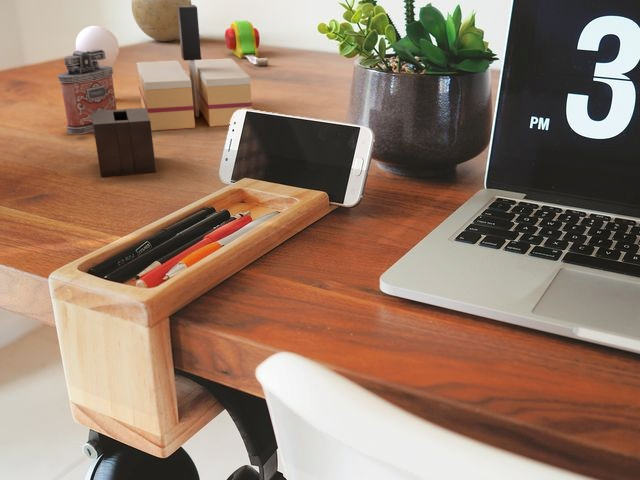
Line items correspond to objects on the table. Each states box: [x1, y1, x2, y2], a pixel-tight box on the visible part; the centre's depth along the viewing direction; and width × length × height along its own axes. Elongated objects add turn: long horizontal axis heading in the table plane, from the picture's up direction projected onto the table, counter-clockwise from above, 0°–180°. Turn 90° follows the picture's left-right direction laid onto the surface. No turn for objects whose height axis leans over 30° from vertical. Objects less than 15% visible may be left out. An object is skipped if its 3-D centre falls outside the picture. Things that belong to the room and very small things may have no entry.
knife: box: [177, 4, 202, 118], centre depth 102 cm, size 2×3×15 cm
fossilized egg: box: [131, 0, 193, 42], centre depth 157 cm, size 13×13×15 cm
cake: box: [136, 57, 253, 132], centre depth 104 cm, size 14×14×6 cm
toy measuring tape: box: [224, 20, 269, 67], centre depth 144 cm, size 6×19×7 cm, turn 24°
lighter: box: [57, 49, 118, 135], centre depth 96 cm, size 8×3×10 cm, turn 151°
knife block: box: [92, 107, 157, 178], centre depth 83 cm, size 6×6×6 cm
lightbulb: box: [75, 25, 120, 80], centre depth 109 cm, size 6×6×11 cm
